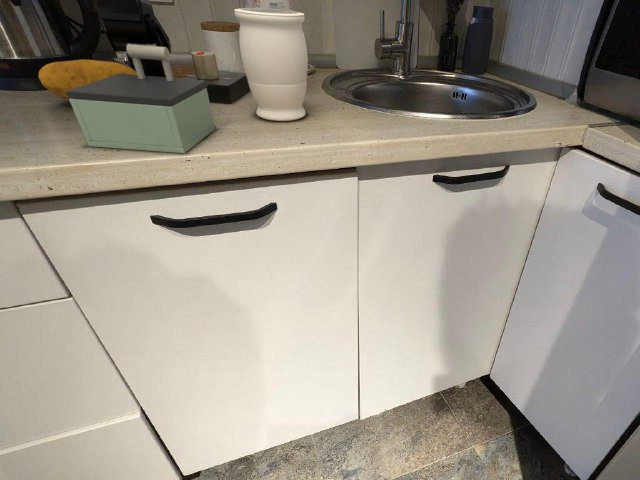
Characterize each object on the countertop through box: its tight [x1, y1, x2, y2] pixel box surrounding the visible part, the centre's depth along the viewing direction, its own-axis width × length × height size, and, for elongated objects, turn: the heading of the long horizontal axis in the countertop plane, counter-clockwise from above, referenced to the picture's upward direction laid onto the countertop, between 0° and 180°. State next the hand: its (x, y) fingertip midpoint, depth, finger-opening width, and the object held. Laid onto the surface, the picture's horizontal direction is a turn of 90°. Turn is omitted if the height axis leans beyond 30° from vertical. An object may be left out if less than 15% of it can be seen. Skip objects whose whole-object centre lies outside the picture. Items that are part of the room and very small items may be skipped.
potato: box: [38, 58, 137, 101], centre depth 65 cm, size 8×14×7 cm, turn 108°
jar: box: [234, 7, 309, 122], centre depth 65 cm, size 11×10×15 cm
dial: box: [190, 50, 219, 80], centre depth 74 cm, size 4×4×4 cm
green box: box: [68, 88, 216, 154], centre depth 55 cm, size 11×13×6 cm
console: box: [184, 70, 251, 104], centre depth 77 cm, size 12×10×3 cm
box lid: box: [66, 43, 208, 106], centre depth 52 cm, size 12×13×5 cm
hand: (55, 8), depth 52 cm, fingers open, 9 cm apart
